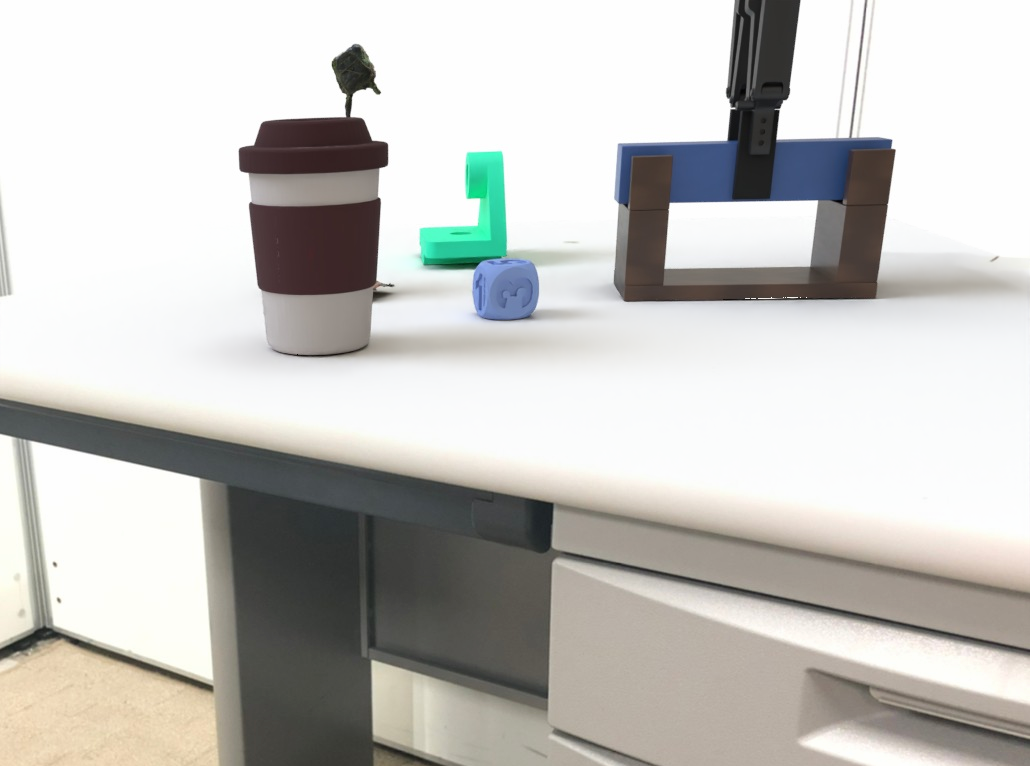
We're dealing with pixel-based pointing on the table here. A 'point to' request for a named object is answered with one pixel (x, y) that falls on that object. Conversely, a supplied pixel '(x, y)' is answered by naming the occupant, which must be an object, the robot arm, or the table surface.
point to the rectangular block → (711, 164)
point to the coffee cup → (315, 230)
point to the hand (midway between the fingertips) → (745, 195)
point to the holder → (832, 273)
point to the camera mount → (491, 231)
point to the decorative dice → (505, 288)
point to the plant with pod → (355, 83)
